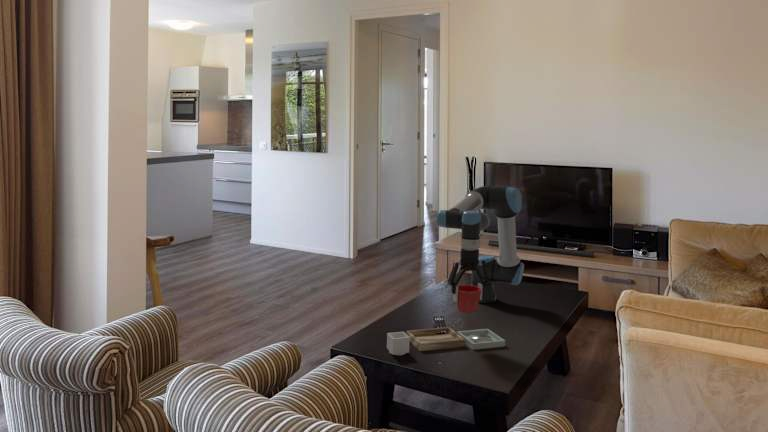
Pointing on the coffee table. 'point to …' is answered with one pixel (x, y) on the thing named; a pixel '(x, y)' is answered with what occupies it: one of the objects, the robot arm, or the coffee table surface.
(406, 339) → the white faceted planter
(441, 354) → the coffee table surface
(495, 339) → the pale green square tray
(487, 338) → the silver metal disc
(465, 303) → the flower pot
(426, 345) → the wooden tray
